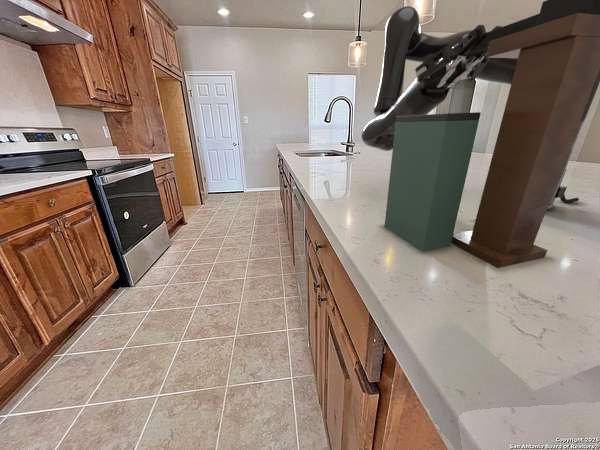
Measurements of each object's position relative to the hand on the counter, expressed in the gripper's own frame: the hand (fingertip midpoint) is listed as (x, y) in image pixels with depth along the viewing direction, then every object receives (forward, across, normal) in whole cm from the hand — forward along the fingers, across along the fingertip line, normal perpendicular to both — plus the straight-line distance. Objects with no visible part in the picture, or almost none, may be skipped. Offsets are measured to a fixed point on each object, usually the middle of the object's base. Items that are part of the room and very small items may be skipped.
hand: (492, 30), depth 39 cm
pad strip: (+2, 0, +4) cm, 5 cm away
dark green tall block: (-17, -9, +30) cm, 36 cm away
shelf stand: (-10, 0, +34) cm, 35 cm away
